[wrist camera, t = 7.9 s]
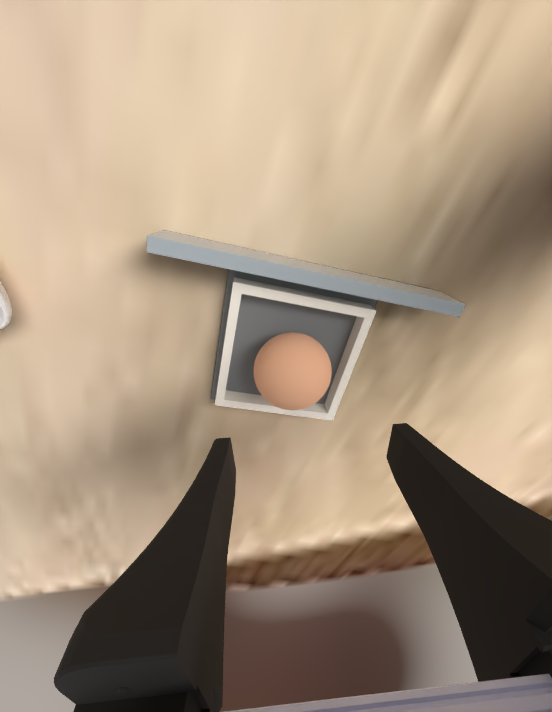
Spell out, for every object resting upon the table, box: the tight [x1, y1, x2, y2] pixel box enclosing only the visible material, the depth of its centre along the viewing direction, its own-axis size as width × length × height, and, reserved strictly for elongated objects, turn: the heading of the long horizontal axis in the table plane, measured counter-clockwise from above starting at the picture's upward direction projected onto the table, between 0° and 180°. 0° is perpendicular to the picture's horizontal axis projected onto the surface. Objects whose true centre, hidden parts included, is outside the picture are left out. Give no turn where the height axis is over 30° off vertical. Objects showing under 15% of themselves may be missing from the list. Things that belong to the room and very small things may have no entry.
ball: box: [254, 332, 332, 410], centre depth 18 cm, size 5×5×5 cm
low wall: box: [147, 230, 466, 317], centre depth 17 cm, size 1×18×3 cm, turn 77°
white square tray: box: [211, 269, 378, 421], centre depth 20 cm, size 10×10×2 cm
